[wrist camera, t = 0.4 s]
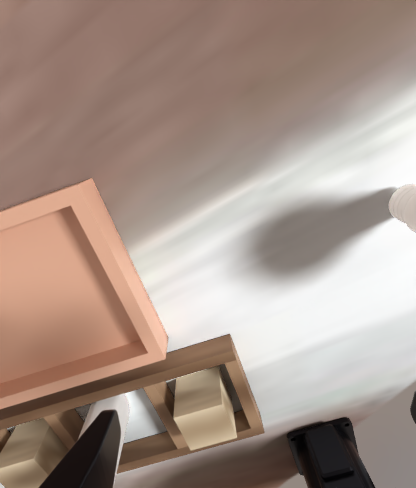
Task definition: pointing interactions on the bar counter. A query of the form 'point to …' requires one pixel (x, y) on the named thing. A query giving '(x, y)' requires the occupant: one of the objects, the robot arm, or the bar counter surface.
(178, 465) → the bar counter surface
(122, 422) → the eye dropper bottle
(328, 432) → the robot arm
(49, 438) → the block
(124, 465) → the frame
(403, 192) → the lightbulb
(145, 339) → the tray
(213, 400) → the block
